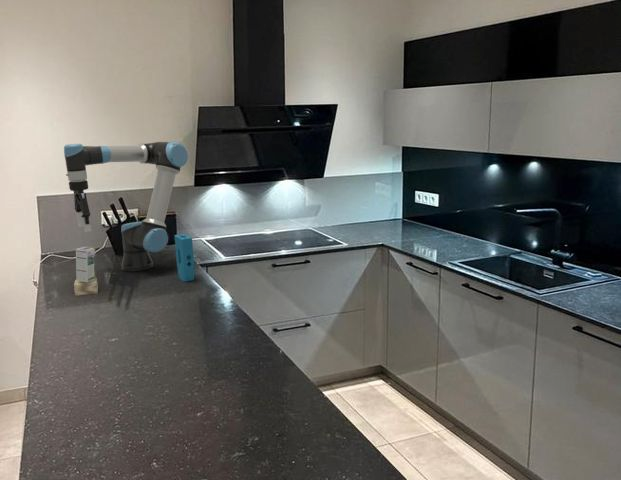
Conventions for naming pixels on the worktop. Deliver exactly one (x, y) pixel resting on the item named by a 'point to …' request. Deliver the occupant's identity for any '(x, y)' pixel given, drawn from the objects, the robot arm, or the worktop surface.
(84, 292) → the birch block
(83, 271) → the syrup box
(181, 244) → the block
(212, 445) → the worktop surface
